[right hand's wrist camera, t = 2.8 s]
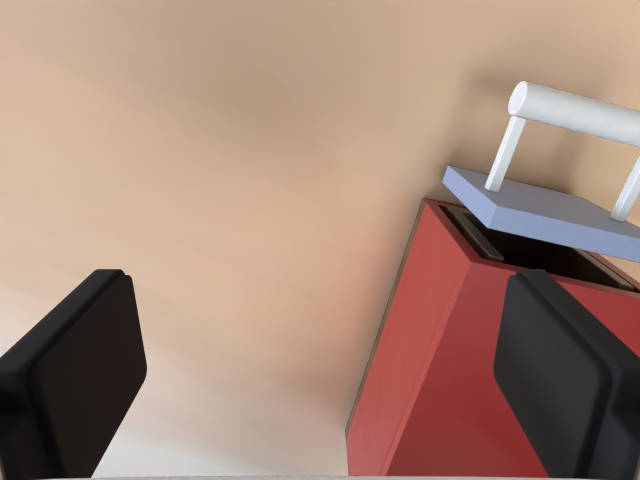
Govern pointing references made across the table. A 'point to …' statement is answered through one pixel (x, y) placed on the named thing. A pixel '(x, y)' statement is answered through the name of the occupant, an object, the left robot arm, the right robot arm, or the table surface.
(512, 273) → the red box
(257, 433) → the table surface
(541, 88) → the drawer
